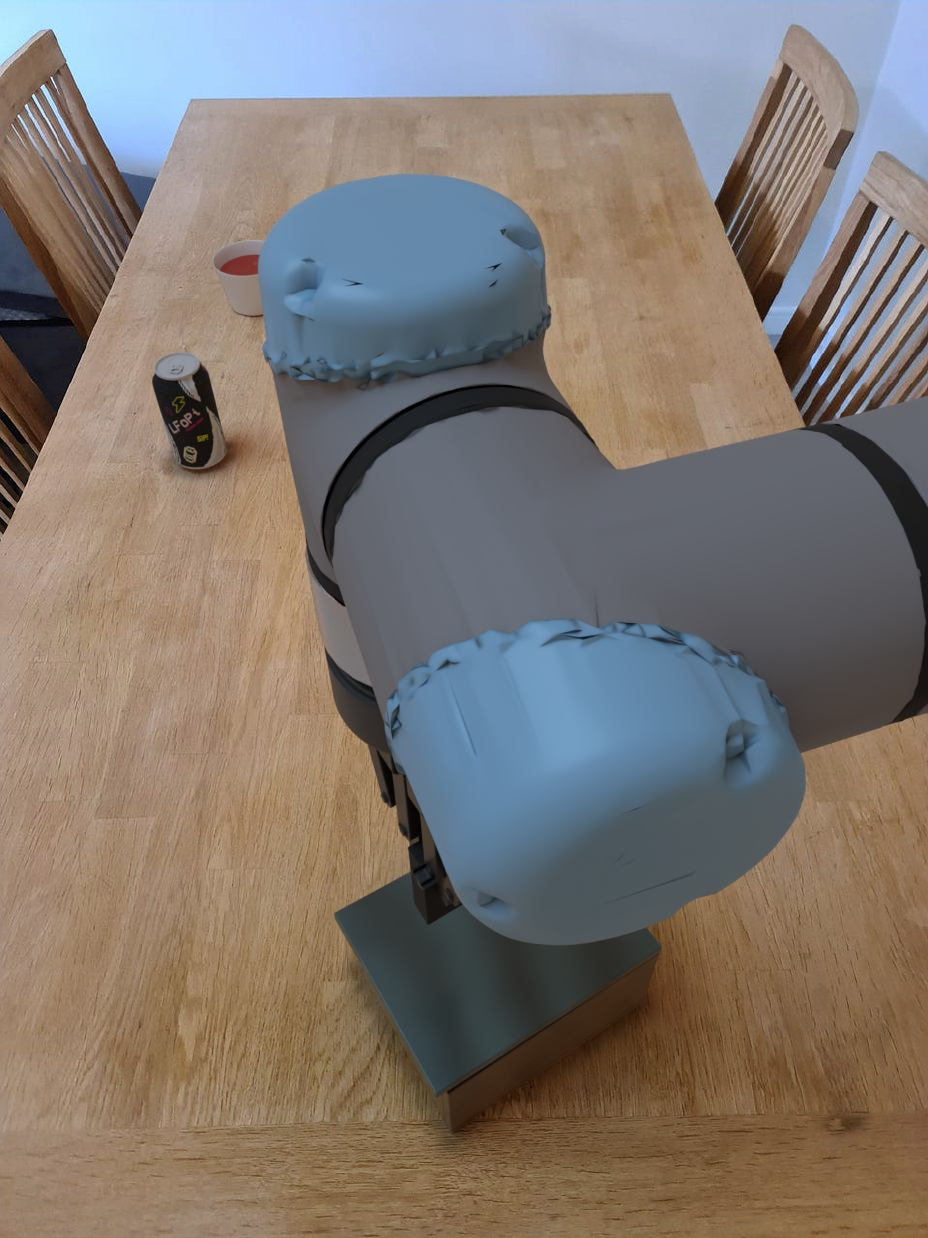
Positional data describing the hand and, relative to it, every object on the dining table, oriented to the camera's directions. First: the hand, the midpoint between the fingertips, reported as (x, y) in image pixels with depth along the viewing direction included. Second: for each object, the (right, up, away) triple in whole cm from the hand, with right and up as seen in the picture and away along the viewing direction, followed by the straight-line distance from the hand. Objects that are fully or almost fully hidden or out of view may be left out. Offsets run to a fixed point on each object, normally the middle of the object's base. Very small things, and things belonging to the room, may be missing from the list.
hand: (442, 901), depth 54 cm
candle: (-26, +57, +74) cm, 97 cm away
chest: (+4, -10, +15) cm, 18 cm away
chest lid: (+3, -4, +8) cm, 10 cm away
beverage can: (-28, +33, +54) cm, 69 cm away
